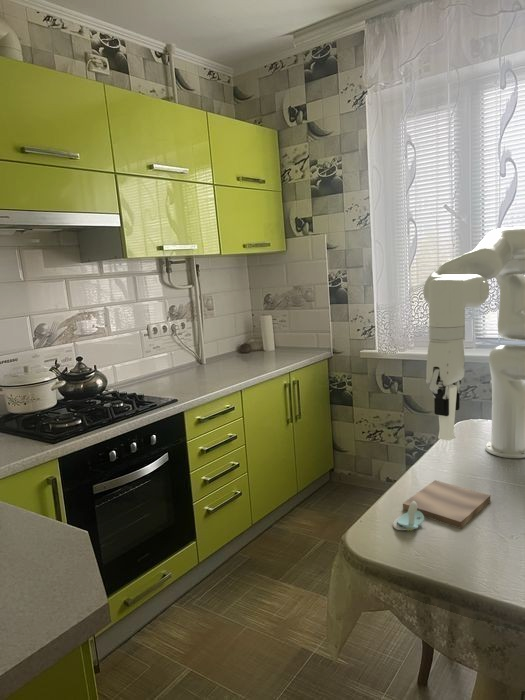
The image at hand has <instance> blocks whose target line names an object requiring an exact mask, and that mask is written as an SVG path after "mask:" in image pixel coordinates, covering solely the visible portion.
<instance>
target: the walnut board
mask: <svg viewBox="0 0 525 700" xmlns="http://www.w3.org/2000/svg"><path fill="white" fill-rule="evenodd" d="M491 497H492V496H491V495H490V494H487V493H483V492H480V491H477V490H472V489H469V488H466V487H461V486H458V485H454V484H450V483H446V482H443V481H440V480H435V479H434V480H433V481H431V483H429V484H428V485H426V486H425V487H424V488H422V489H420V490H419V491H418V492H416V493H415V494H414V495H412V496H411V497H409V498H408V499H407V500H405V501H404V502H403V503H402V510H404V511H406V512H408V509H409V506H410V504H411V502H412V501H415V502H416V504H417V511H420V512H422V514H423V515H424V518H428V519H432V520H434V521H437V522H440V523H442V524H446V525H450V526H451V527H455V528H459V529H462V528H463V527H464V526H465V525H466V524H467V523H469V522H470V521H471V520H472V519H473V518H474V517H475V516H476V515H477V514H479V512H480V511H482V510H483V509H484V508H485V507H486V506H487V505H488V504H489V503H491Z"/></svg>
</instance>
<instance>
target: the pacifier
mask: <svg viewBox="0 0 525 700" xmlns="http://www.w3.org/2000/svg"><path fill="white" fill-rule="evenodd" d="M424 520H425V516H424V515H423V514H422V512H420V511H417V504H416V502H415V501H412V502H411V504H410V506H409V509H408V511H406V512H405V513H403V514H402V515H400V516H399V517H396V519H394V521H393V523H392V527H393V528H394V529H395V530H397V531H409V530H410V531H413V530H412V529H414V530H416V529H418V528H419V526H420V525H421V524H422V523H424V522H425V521H424ZM399 525H400V526H399Z"/></svg>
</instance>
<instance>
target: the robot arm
mask: <svg viewBox="0 0 525 700" xmlns="http://www.w3.org/2000/svg"><path fill="white" fill-rule="evenodd" d="M494 278H495V280H496V282H497V284H498V287H499V306H498V319H497V332H498V335H499V337H501V338H502V339H504V340H509V341H522V342H525V226H523V225H522V226H513V227H510V226H509V227H500V228H497V229H493V230H491V231H489V232H488V233H487V234H486V235H485V236H484V237H483V238H482V239H481V240H480V242H479V243H477V245H476V246H475V247H474V248H473V249H472V250H471V251H468V252H466V253H464V254H461V255H459V256H457V257H455V258H452V259H450V260H447V261H445V262H443V263H442V264H440V265H439V266H437V267H436V268H435V269H434V270H433V271H432V272H431V273H430V275H429V276H428V277H427V278H426V281H425V282H424V286H423V292H422V294H423V299H424V301H425V302H426V304H428V323H429V324H428V348H427V355H426V368H425V369H426V371H425V372H426V374H425V375H426V379H425V381H426V384H427V385H429V387H428V388H429V390H430V391H431V393H432V394H433V395H432V396H433V399H434V400H433V403H434V404H433V405H434V407H433V408H434V415H436V416H437V415H438V416H439V415H442V416H448V415H449V399H447V394H448V386H449V385H451V384H454V385H456V386H457V396H456V408H455V411H459V410H460V402H461V401H460V398H461V397H460V393H461V384H462V379H463V378H464V376H465V369H466V368H465V367H466V366H465V365H466V363H465V347H464V341H465V340H466V308H476V307H477V308H478V307H479V306H482V305H484V303H485V302H486V301H487V299H488V297H489V295H490V284H489V282H488V281H489V280H492V279H494ZM488 365H489V371H490V378H491V441H487V443H486V444H485V450H486V452H488V453H489V454H492V455H494V456H496V457H500V458H505V459H525V384H524V382H523V380H524V381H525V345H522V344H521V345H518V344H501V345H497V346H495V347H493V349H491V351H490V352H489V357H488ZM441 382H443V383H442V384H443V385H442V384H439V383H441ZM439 387H442V388H444V389H443V391H442V390H441V389H439Z"/></svg>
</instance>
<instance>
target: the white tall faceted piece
mask: <svg viewBox="0 0 525 700" xmlns="http://www.w3.org/2000/svg"><path fill="white" fill-rule="evenodd" d="M442 383H443V382H439V384H442ZM442 385H443V384H442ZM439 389H441V390H442V391H443V389H444V388H442V387H439ZM456 396H457V386H456V385H454V384H451V385H449V386H448V394H447V399H449V415H448V416H442V415H438V425H439V426H438V427H439V432H438V437H437V438H438V439H439V440H443V441H444V440H445V441H452V440H454V439H456V435H455V432H454V430H455V419H456V410H455V408H456Z"/></svg>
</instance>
